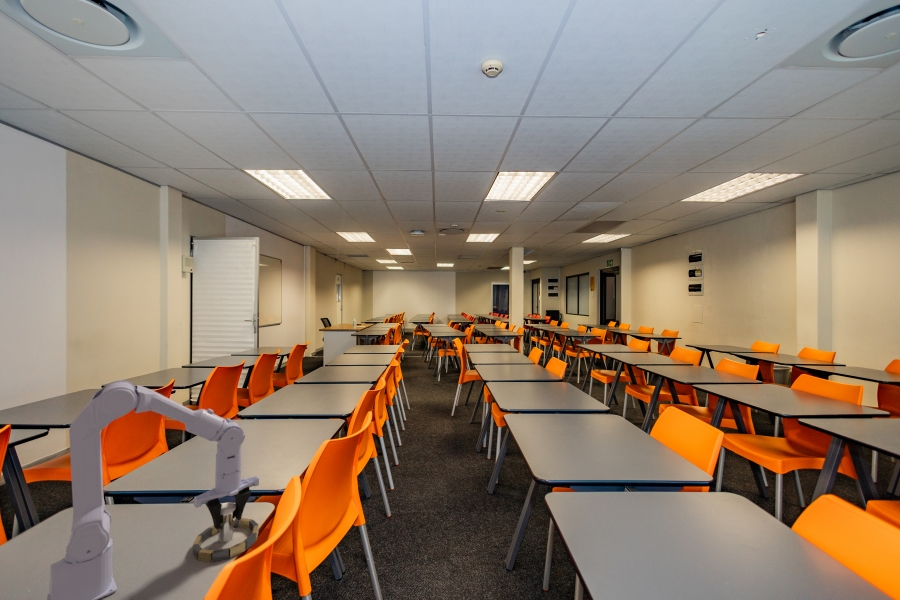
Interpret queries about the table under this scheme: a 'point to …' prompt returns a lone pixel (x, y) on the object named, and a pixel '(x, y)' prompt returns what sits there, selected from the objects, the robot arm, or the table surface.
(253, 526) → the ring
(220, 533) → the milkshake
